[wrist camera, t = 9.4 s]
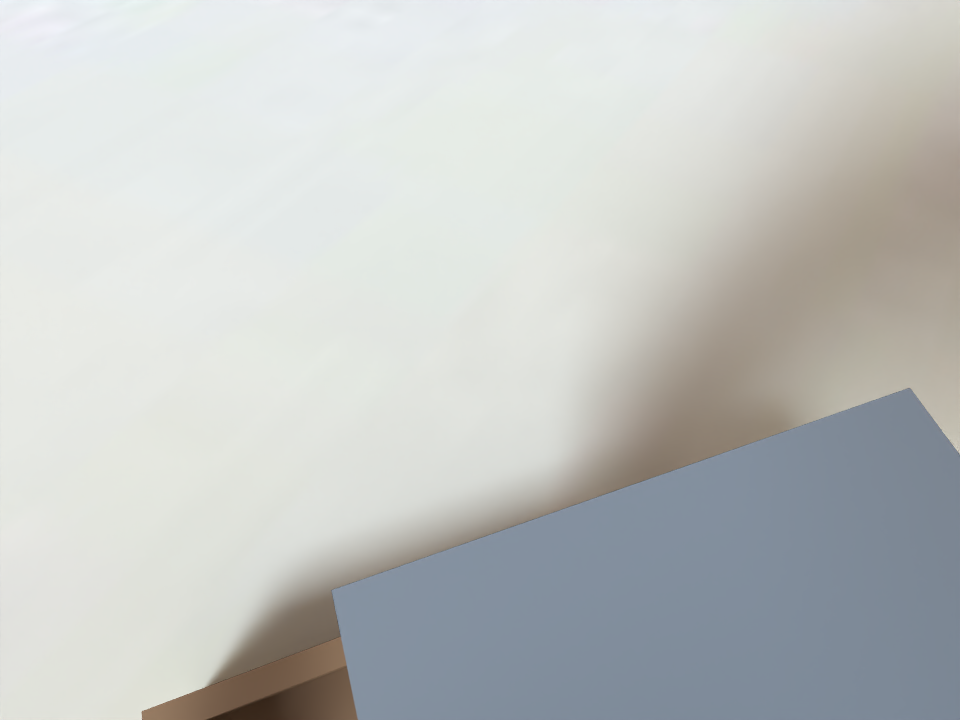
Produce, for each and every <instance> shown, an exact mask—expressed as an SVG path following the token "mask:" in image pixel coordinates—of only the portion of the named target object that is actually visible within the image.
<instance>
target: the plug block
mask: <svg viewBox="0 0 960 720" xmlns="http://www.w3.org/2000/svg"><path fill="white" fill-rule="evenodd" d="M331 591H332V595H333V600H334V605H335V610H336V615H337V620H338V625H339V630H340V635H341V640H342V644H343V649H344V654H345V659H346V664H347V669H348V674H349V679H350V684H351V689H352V693H353V698H354V703H355V708H356V713H357V718H358V720H960V455H959V453H958V452H957V451H956V449H955V448H954V446H953V445H952V444H951V442H950V441H949V440H948V438H947V437H946V436H945V434H944V433H943V432H942V430H941V429H940V428H939V426H938V425H937V424H936V422H935V421H934V420H933V418H932V417H931V416H930V414H929V413H928V412H927V410H926V409H925V407H924V406H923V405H922V403H921V402H920V401H919V399H918V398H917V397H916V395H915V394H914V393H913V391H912V390H911V389H910V388H908V389H905V390H902V391H899V392H896V393H893V394H890V395H888V396H885V397H882V398H879V399H876V400H873V401H870V402H868V403H865V404H862V405H859V406H856V407H853V408H850V409H848V410H845V411H842V412H839V413H836V414H833V415H830V416H828V417H825V418H822V419H819V420H816V421H813V422H810V423H808V424H805V425H802V426H799V427H796V428H793V429H790V430H788V431H785V432H782V433H779V434H776V435H773V436H770V437H768V438H765V439H762V440H759V441H756V442H753V443H750V444H748V445H745V446H742V447H739V448H736V449H733V450H730V451H728V452H725V453H722V454H719V455H716V456H713V457H710V458H708V459H705V460H702V461H699V462H696V463H693V464H690V465H688V466H685V467H682V468H679V469H676V470H673V471H670V472H668V473H665V474H662V475H659V476H656V477H653V478H650V479H648V480H645V481H642V482H639V483H636V484H633V485H630V486H628V487H625V488H622V489H619V490H616V491H613V492H610V493H608V494H605V495H602V496H599V497H596V498H593V499H590V500H588V501H585V502H582V503H579V504H576V505H573V506H570V507H568V508H565V509H562V510H559V511H556V512H553V513H550V514H548V515H545V516H542V517H539V518H536V519H533V520H530V521H528V522H525V523H522V524H519V525H516V526H513V527H510V528H508V529H505V530H502V531H499V532H496V533H493V534H490V535H488V536H485V537H482V538H479V539H476V540H473V541H470V542H468V543H465V544H462V545H459V546H456V547H453V548H450V549H448V550H445V551H442V552H439V553H436V554H433V555H430V556H428V557H425V558H422V559H419V560H416V561H413V562H411V563H408V564H405V565H402V566H399V567H396V568H393V569H391V570H388V571H385V572H382V573H379V574H376V575H373V576H371V577H368V578H365V579H362V580H359V581H356V582H353V583H351V584H348V585H345V586H342V587H339V588H336V589H333V590H331Z"/></svg>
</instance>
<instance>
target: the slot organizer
mask: <svg viewBox="0 0 960 720" xmlns="http://www.w3.org/2000/svg"><path fill="white" fill-rule="evenodd" d="M142 720H358V718H357V713H356V708H355V703H354V698H353V693H352V689H351V684H350V679H349V674H348V669H347V664H346V659H345V654H344V649H343V644H342V640H341V637H338V638H336V639H333V640H330V641H328V642H325V643H322V644H320V645H317V646H314V647H312V648H309V649H306V650H304V651H301V652H298V653H296V654H293V655H290V656H288V657H285V658H283V659H280V660H277V661H275V662H272V663H269V664H267V665H264V666H261V667H259V668H256V669H253V670H251V671H248V672H245V673H243V674H240V675H237V676H235V677H232V678H229V679H227V680H224V681H221V682H219V683H216V684H213V685H211V686H208V687H205V688H203V689H200V690H197V691H195V692H192V693H189V694H187V695H184V696H181V697H179V698H176V699H173V700H171V701H168V702H165V703H163V704H160V705H158V706H155V707H152V708H150V709H147V710H144V711H142Z"/></svg>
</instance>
